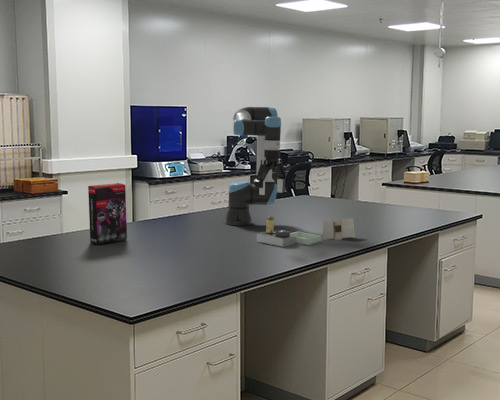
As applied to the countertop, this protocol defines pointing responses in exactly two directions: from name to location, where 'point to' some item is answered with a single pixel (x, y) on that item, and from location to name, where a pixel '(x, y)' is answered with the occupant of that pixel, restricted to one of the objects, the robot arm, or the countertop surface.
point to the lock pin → (269, 225)
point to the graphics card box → (107, 213)
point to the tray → (306, 238)
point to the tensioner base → (277, 238)
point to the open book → (338, 229)
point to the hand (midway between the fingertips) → (270, 193)
